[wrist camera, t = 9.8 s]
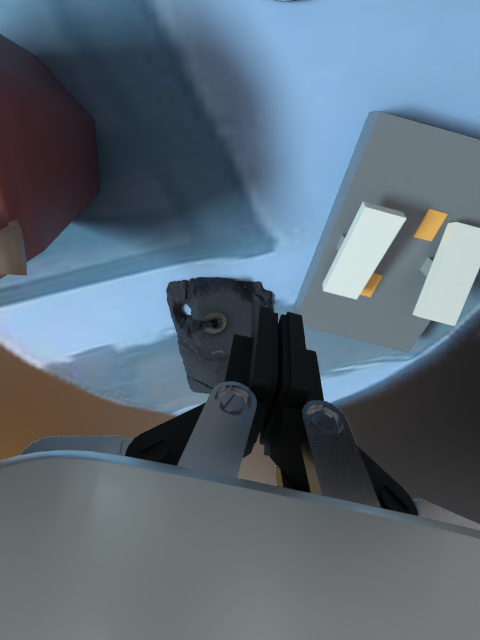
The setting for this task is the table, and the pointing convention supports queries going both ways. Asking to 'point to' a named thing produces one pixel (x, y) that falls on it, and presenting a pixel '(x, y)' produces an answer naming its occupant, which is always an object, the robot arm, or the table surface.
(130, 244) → the table surface
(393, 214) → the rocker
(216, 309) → the dark slate chunk
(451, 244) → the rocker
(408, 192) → the switch box
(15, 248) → the bucket
